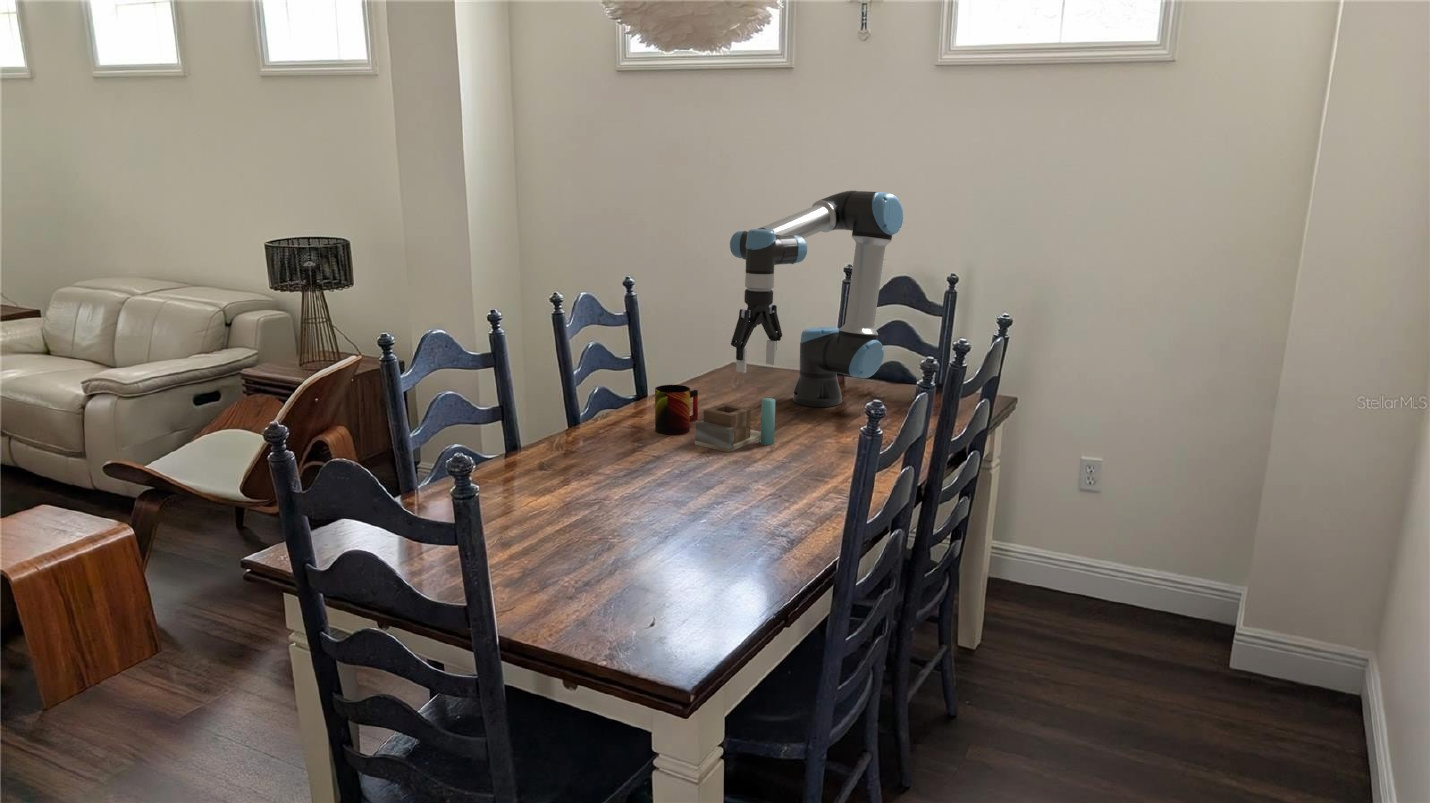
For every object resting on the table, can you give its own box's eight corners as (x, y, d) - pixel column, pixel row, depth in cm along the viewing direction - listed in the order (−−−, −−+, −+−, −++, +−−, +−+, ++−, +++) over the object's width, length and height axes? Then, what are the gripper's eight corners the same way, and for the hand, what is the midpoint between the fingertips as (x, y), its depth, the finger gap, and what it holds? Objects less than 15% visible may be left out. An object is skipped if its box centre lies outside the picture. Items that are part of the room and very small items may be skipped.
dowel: (765, 440, 270) (766, 397, 267) (776, 442, 268) (777, 399, 265) (757, 443, 267) (759, 400, 264) (769, 446, 265) (770, 402, 262)
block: (722, 431, 274) (723, 403, 272) (750, 437, 269) (750, 408, 267) (703, 439, 267) (703, 410, 265) (730, 445, 262) (731, 415, 260)
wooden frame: (733, 429, 280) (733, 408, 278) (766, 436, 274) (767, 415, 272) (694, 444, 266) (694, 422, 264) (728, 452, 259) (729, 430, 258)
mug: (698, 423, 285) (698, 382, 282) (684, 437, 272) (684, 394, 269) (665, 420, 288) (665, 380, 284) (650, 433, 275) (650, 391, 272)
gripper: (774, 283, 275) (771, 359, 280) (718, 292, 256) (716, 373, 261) (797, 286, 270) (793, 363, 276) (742, 295, 251) (739, 377, 256)
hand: (756, 368), depth 268 cm, fingers open, 13 cm apart
